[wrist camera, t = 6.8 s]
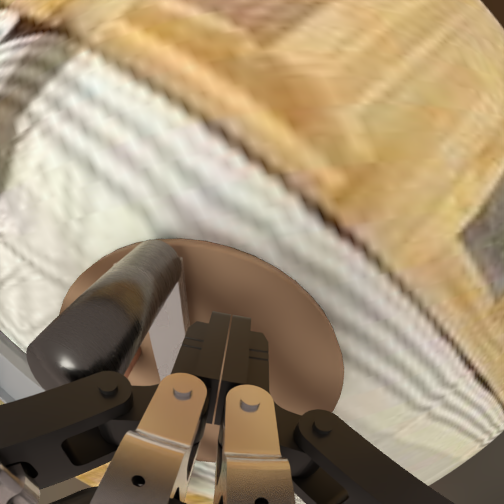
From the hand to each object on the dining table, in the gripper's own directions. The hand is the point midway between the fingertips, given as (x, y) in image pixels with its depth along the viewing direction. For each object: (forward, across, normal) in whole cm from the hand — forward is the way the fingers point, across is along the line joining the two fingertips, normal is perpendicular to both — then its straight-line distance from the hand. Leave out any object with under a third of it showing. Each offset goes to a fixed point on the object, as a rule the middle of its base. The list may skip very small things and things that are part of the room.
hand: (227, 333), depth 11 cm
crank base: (+8, +2, +12) cm, 15 cm away
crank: (+6, +3, +6) cm, 10 cm away
